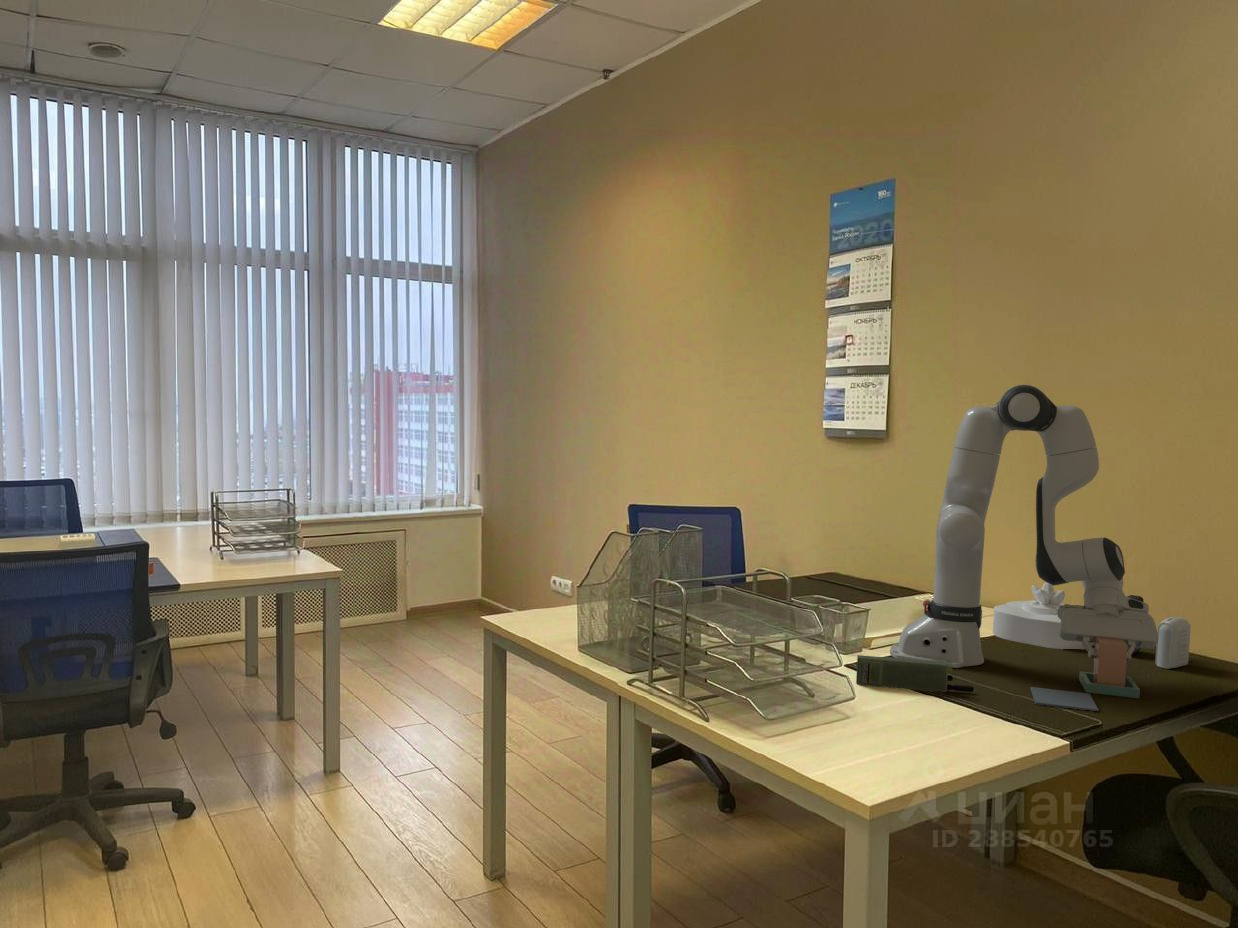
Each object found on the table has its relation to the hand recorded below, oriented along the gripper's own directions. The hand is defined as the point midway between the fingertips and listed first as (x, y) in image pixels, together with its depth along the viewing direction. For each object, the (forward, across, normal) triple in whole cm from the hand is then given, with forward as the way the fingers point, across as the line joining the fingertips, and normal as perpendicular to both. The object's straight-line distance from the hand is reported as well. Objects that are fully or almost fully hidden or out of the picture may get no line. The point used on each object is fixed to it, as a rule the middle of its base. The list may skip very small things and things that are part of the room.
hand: (1109, 658), depth 208 cm
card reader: (-22, +11, +32) cm, 41 cm away
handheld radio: (+19, -42, -8) cm, 47 cm away
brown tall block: (+5, 0, +5) cm, 7 cm away
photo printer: (-16, +19, +26) cm, 36 cm away
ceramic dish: (+5, 0, +5) cm, 7 cm away
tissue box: (-30, -8, +40) cm, 50 cm away
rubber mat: (+15, -11, -5) cm, 19 cm away
